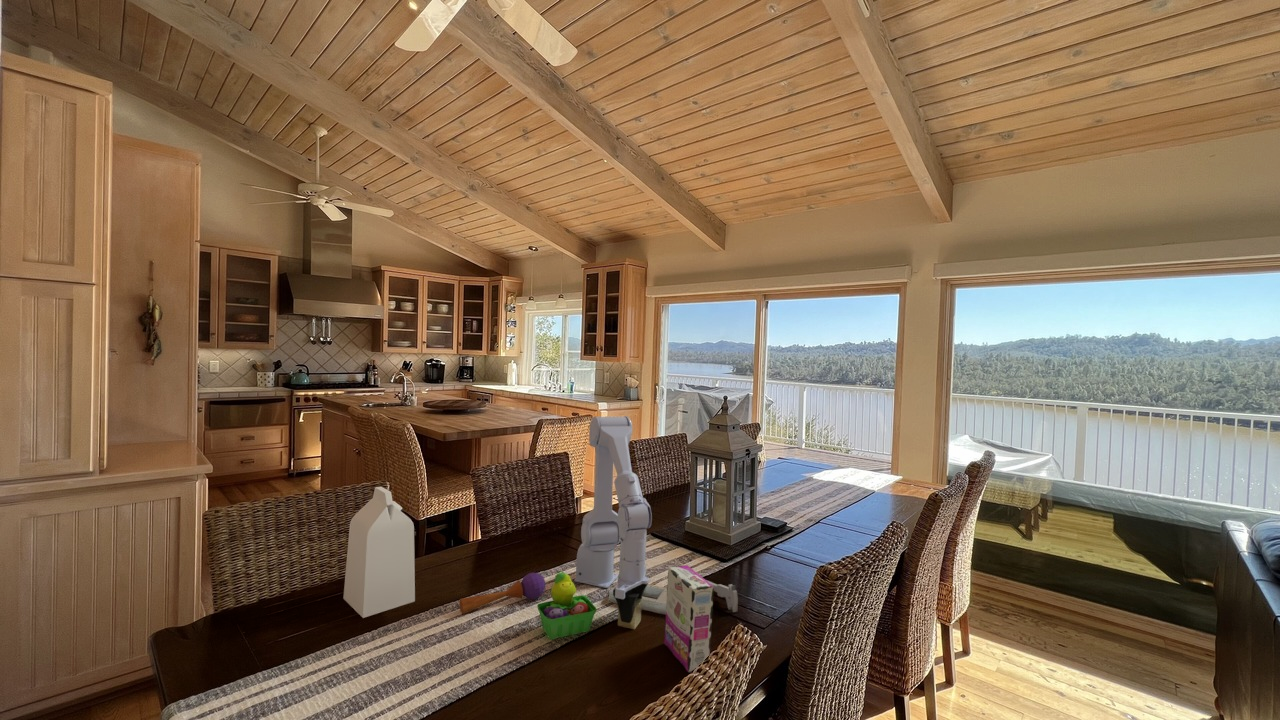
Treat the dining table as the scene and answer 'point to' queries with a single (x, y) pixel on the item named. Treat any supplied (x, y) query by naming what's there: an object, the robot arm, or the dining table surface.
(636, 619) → the block
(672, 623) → the candy bar box
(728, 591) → the caliper
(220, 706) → the dining table surface
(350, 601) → the milk
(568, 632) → the fruit basket
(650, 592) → the white slotted plate
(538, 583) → the purple maraca
